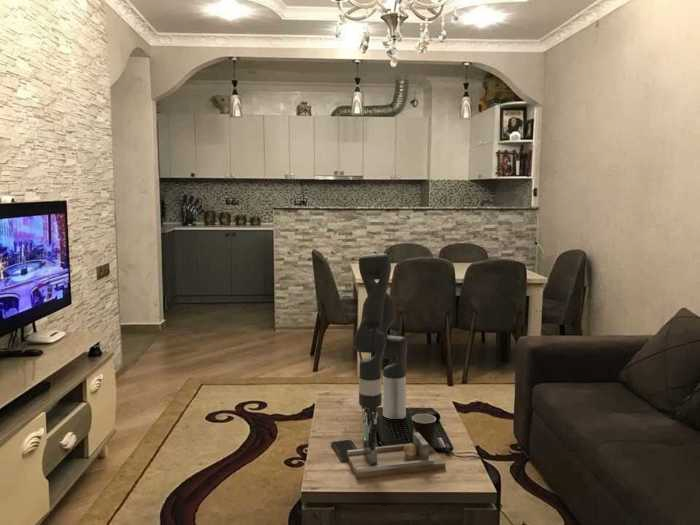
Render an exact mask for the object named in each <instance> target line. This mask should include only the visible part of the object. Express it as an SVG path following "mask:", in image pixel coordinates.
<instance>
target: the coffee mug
mask: <svg viewBox="0 0 700 525" xmlns="http://www.w3.org/2000/svg"><path fill="white" fill-rule="evenodd" d="M411 423H412V431H413V433H416V432H419V433H420V435H421V436H422V437H423V438H424V439H425V441H426V442H427V443H428V444H430V445H432V444H433V445H434V437H435V430H436V425H437V424H436V423H437V418H436V416H434V415H432V414H429V413H417V414H414V415H412V416H411Z"/></svg>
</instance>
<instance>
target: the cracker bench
mask: <svg viewBox="0 0 700 525" xmlns="http://www.w3.org/2000/svg"><path fill="white" fill-rule="evenodd" d="M407 444H408V443H405V444H404V443H403V444H402V443H401V444H394V445H393V444H392V445H384V446H375V447H376V449H377V465H375V466H370V464H369V462H368V460H367V459H366V457H365V455H364V448H357V449H355V450H347V458H348V462H347V463H348V464H349V466H350V467H351V468H350V469H351V470H352V472H353V473H354V476H355V478H356V480H365V479H372V478H380V477H389V476H398V475H405V474H413V473H423V472H430V471H431V472H432V471H439V470H446V462H445V461H444V459H443V458H442V457H441V456H440V455H439V454H438V452H437V451H436V450H435V449H434V448H433V446H432V447H431V445H430V444H428V443H427V442H426V441H425V439H424V438H423V437H422V436H421V435H420V433H419V432H416V433H414V432H413V433H412V442H411V444H414V445H415V446H416V449H417V452H416V454H415V458H409V459H407V457H406V456H405V453H404V447H405V445H407Z"/></svg>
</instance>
